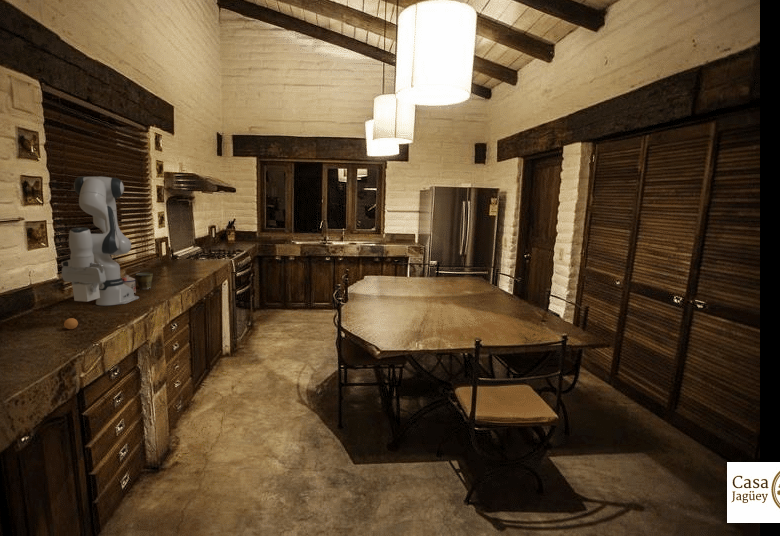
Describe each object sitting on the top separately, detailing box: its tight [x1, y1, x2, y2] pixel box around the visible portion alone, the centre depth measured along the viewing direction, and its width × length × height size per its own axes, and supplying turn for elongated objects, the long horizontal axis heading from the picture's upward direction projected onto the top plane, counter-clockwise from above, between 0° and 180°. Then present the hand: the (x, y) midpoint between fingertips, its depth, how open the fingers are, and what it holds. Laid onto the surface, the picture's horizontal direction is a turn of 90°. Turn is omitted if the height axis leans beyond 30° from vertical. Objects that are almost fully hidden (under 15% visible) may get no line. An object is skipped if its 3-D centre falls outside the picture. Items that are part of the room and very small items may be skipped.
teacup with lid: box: [123, 274, 137, 294], centre depth 261 cm, size 12×9×12 cm
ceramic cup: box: [135, 272, 154, 290], centre depth 276 cm, size 13×10×10 cm
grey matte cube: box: [71, 282, 100, 302], centre depth 194 cm, size 7×7×8 cm
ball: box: [63, 317, 79, 330], centre depth 187 cm, size 5×5×5 cm
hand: (85, 291), depth 194 cm, fingers closed on grey matte cube, 7 cm apart
